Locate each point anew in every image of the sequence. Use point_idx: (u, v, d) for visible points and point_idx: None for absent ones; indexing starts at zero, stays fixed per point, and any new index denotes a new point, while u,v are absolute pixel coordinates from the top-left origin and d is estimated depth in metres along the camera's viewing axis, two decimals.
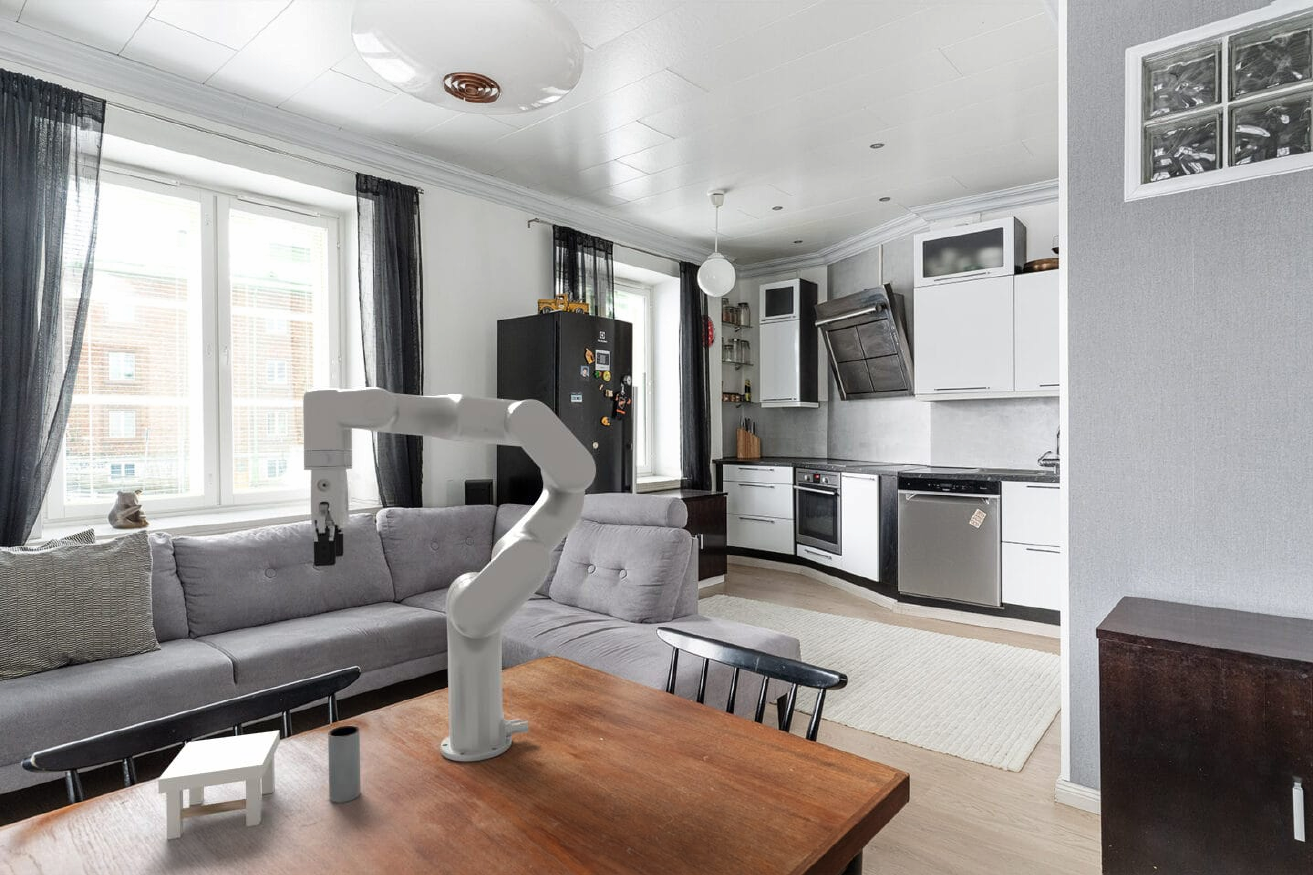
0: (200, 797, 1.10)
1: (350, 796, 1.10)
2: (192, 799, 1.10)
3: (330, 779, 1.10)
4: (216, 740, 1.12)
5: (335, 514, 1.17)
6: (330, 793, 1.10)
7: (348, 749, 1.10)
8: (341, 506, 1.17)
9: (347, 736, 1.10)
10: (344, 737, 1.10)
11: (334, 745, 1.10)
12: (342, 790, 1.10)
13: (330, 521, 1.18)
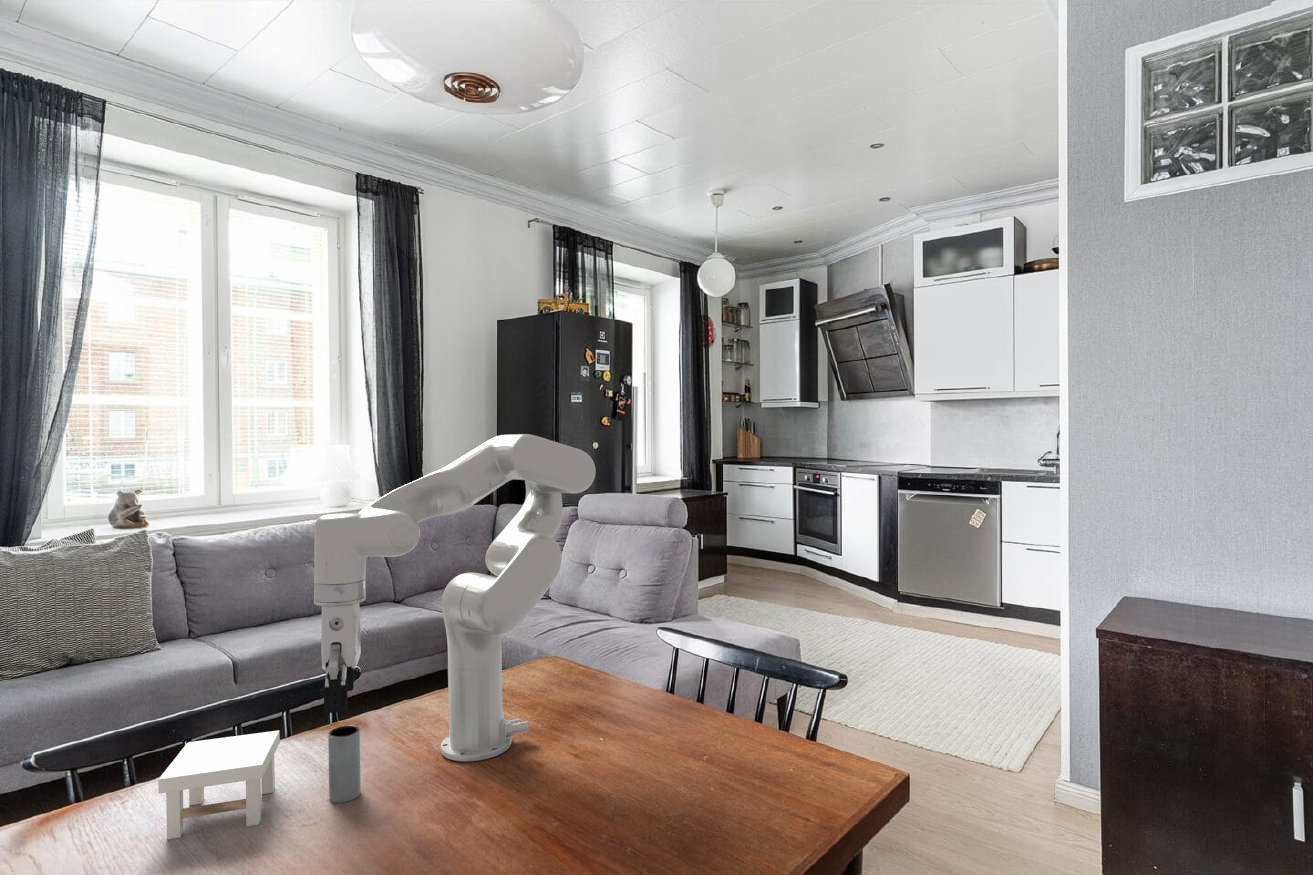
0: (200, 797, 1.10)
1: (350, 796, 1.10)
2: (192, 799, 1.10)
3: (330, 779, 1.10)
4: (216, 740, 1.12)
5: (348, 655, 1.08)
6: (330, 793, 1.10)
7: (348, 749, 1.10)
8: (354, 645, 1.08)
9: (347, 736, 1.10)
10: (344, 737, 1.10)
11: (334, 745, 1.10)
12: (343, 790, 1.10)
13: (342, 661, 1.09)
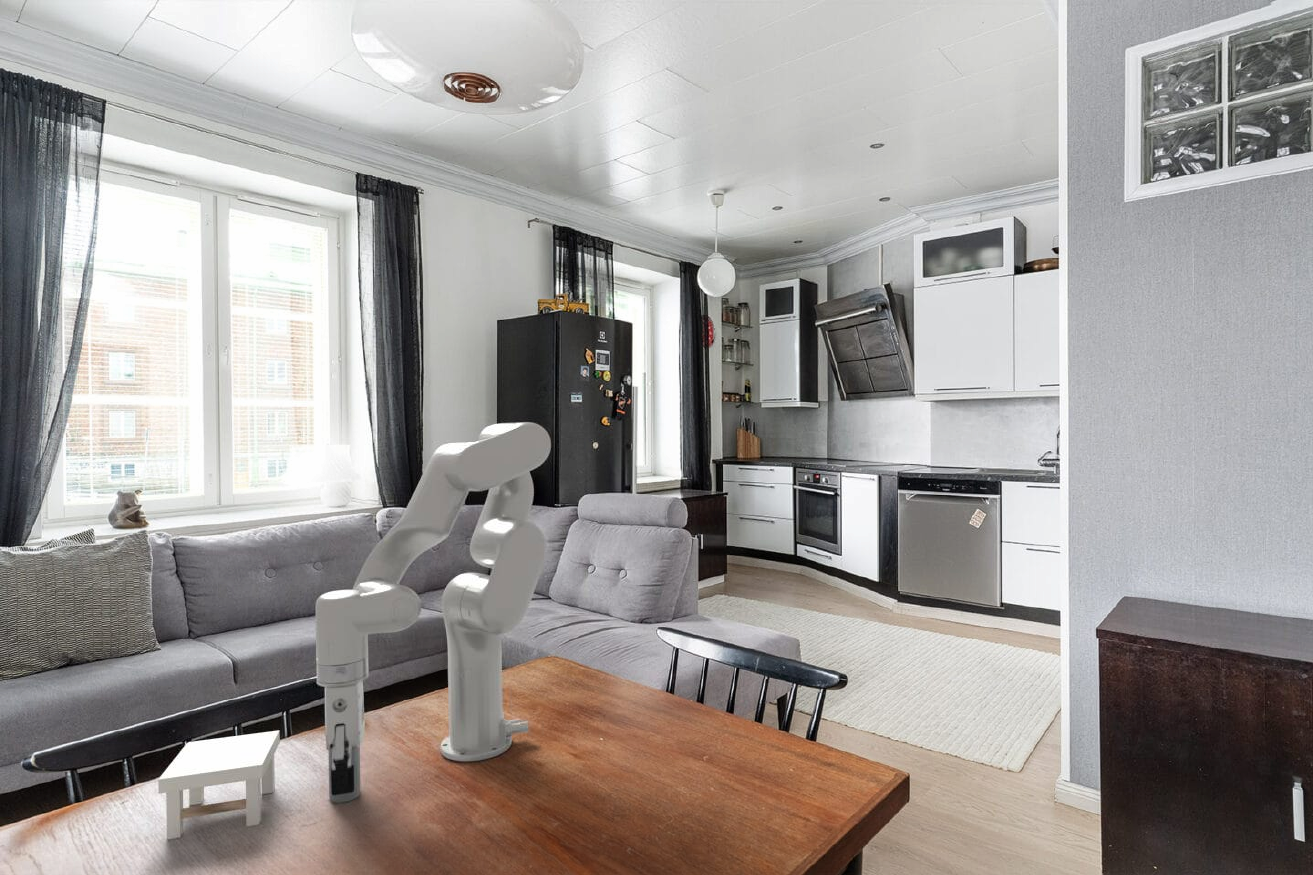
0: (200, 797, 1.10)
1: (350, 796, 1.10)
2: (192, 799, 1.10)
3: (330, 779, 1.10)
4: (216, 740, 1.12)
5: (352, 736, 1.08)
6: (330, 793, 1.10)
7: None
8: (358, 725, 1.09)
9: None
10: None
11: None
12: None
13: None
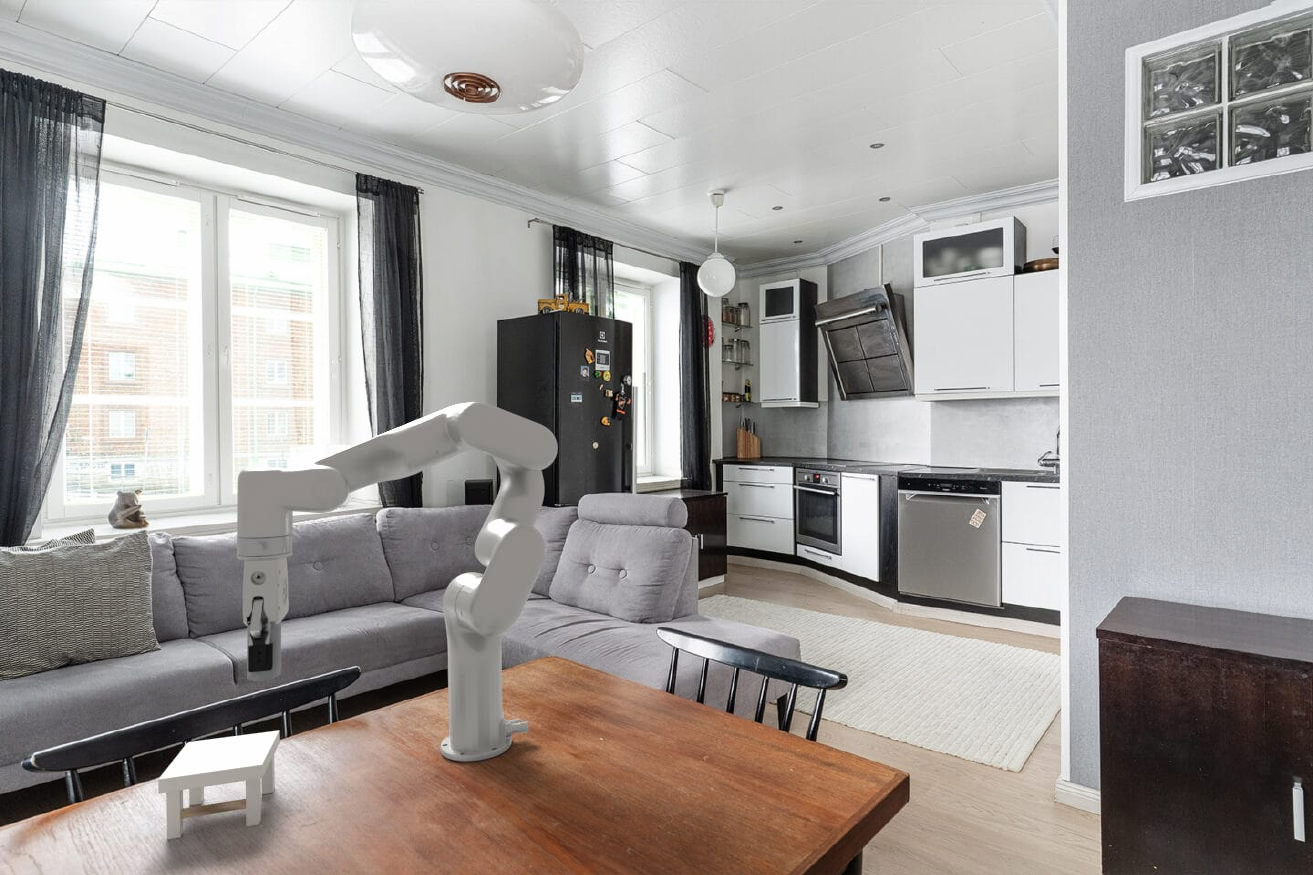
0: (200, 797, 1.10)
1: (268, 675, 1.07)
2: (192, 799, 1.10)
3: None
4: (216, 740, 1.12)
5: (270, 610, 1.05)
6: (248, 672, 1.07)
7: None
8: (277, 600, 1.06)
9: None
10: None
11: None
12: None
13: None
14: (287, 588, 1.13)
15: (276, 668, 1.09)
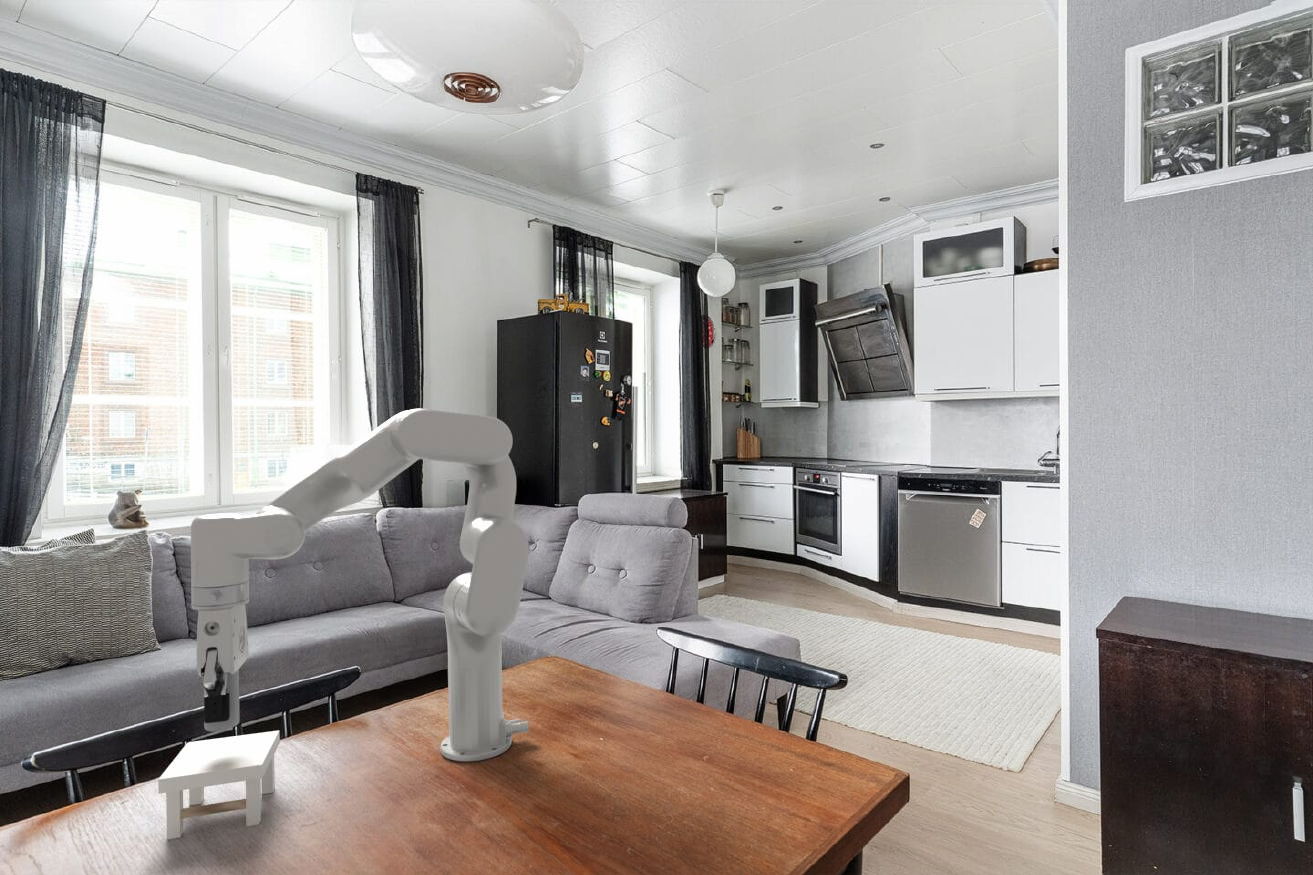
0: (200, 797, 1.10)
1: (225, 725, 1.06)
2: (192, 799, 1.10)
3: None
4: (216, 740, 1.12)
5: (225, 660, 1.04)
6: None
7: None
8: (232, 650, 1.04)
9: None
10: None
11: None
12: None
13: None
14: (245, 635, 1.11)
15: (234, 717, 1.07)
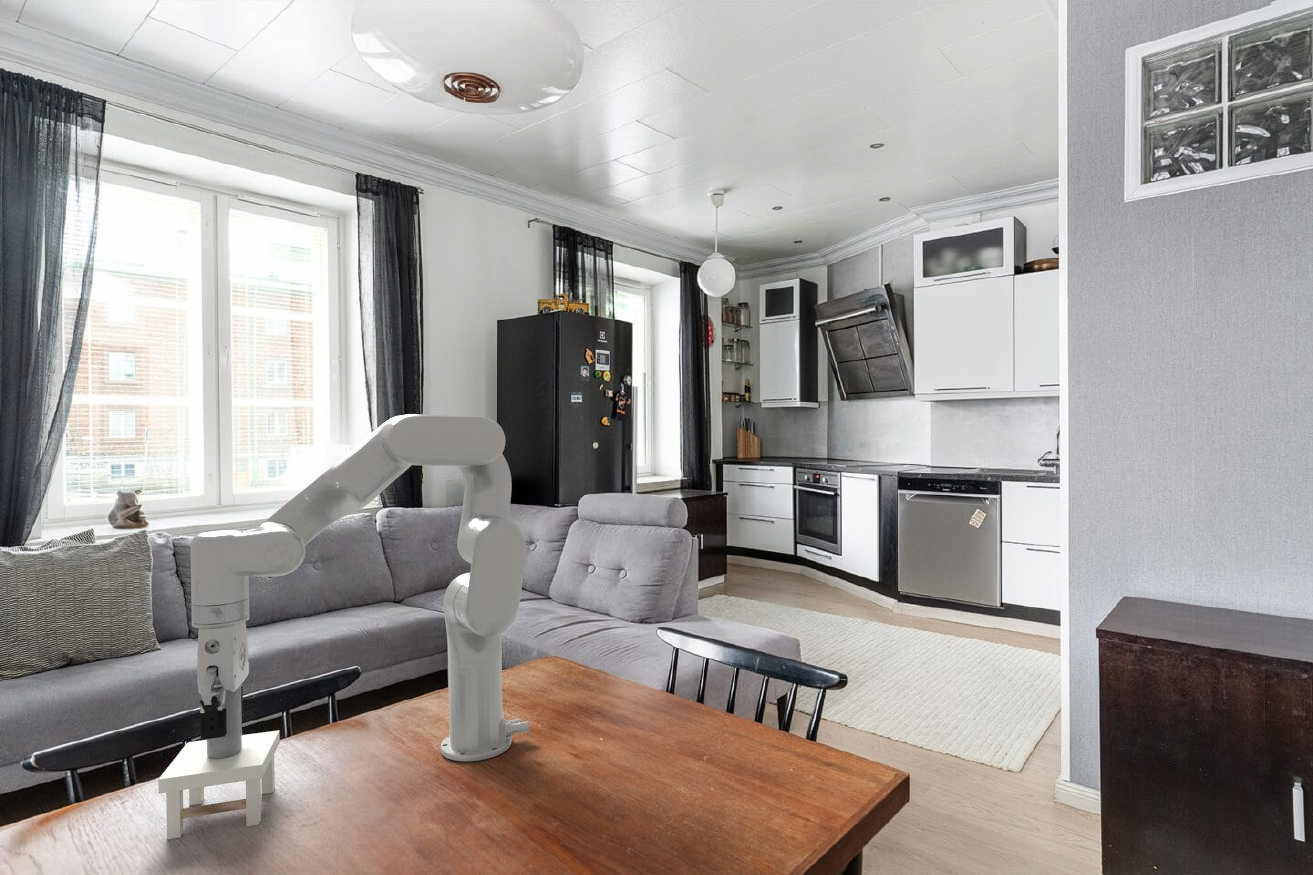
0: (200, 797, 1.10)
1: (228, 752, 1.06)
2: (192, 799, 1.10)
3: None
4: None
5: (225, 679, 1.04)
6: (207, 749, 1.06)
7: (226, 703, 1.06)
8: (233, 668, 1.04)
9: None
10: None
11: None
12: (220, 746, 1.06)
13: (221, 684, 1.05)
14: (246, 651, 1.11)
15: (236, 744, 1.07)
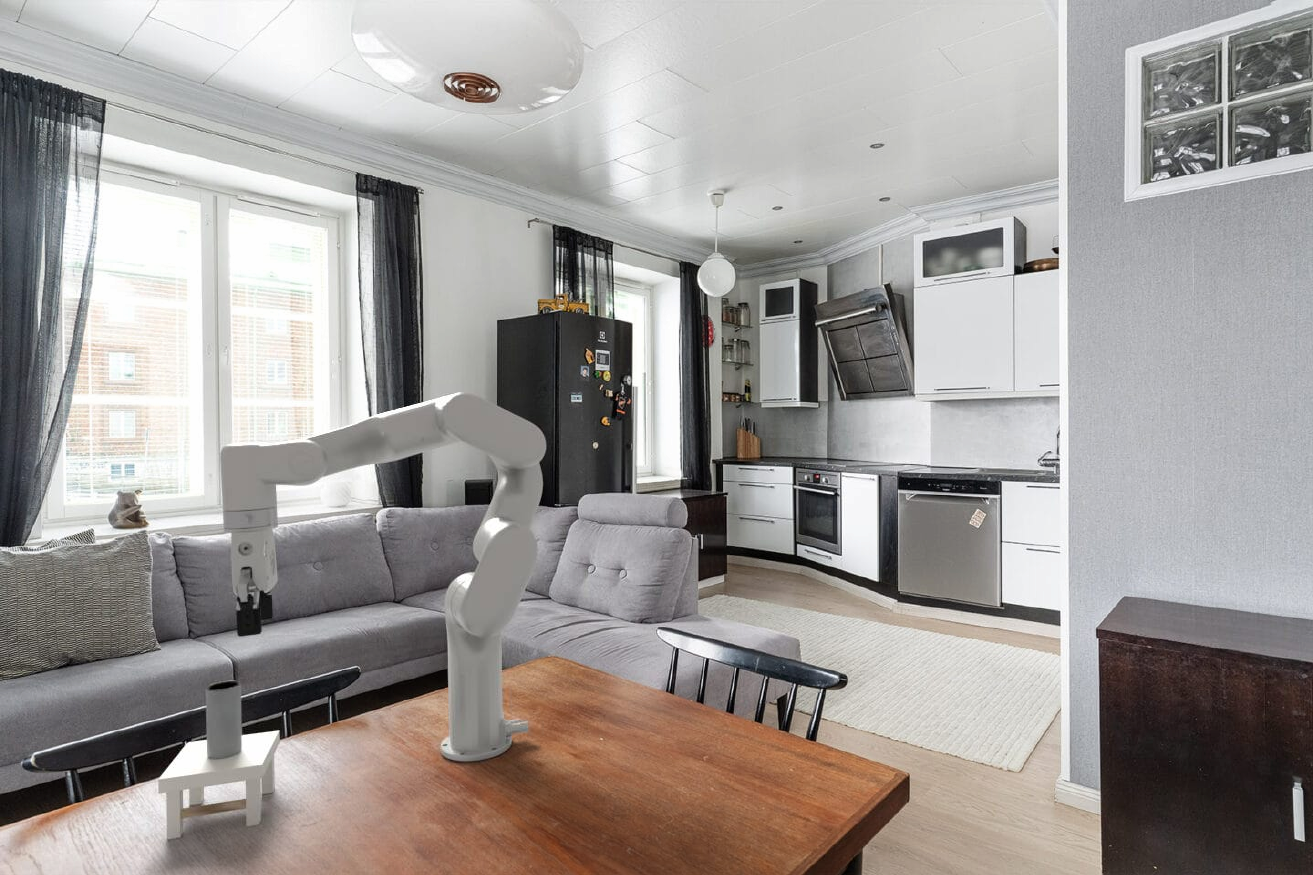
0: (200, 797, 1.10)
1: (228, 752, 1.06)
2: (192, 799, 1.10)
3: (207, 735, 1.06)
4: None
5: (259, 579, 1.09)
6: (207, 749, 1.06)
7: (226, 704, 1.06)
8: (265, 570, 1.09)
9: (225, 690, 1.06)
10: (221, 691, 1.06)
11: (210, 699, 1.06)
12: (219, 746, 1.06)
13: (254, 586, 1.10)
14: (275, 559, 1.16)
15: (236, 744, 1.07)
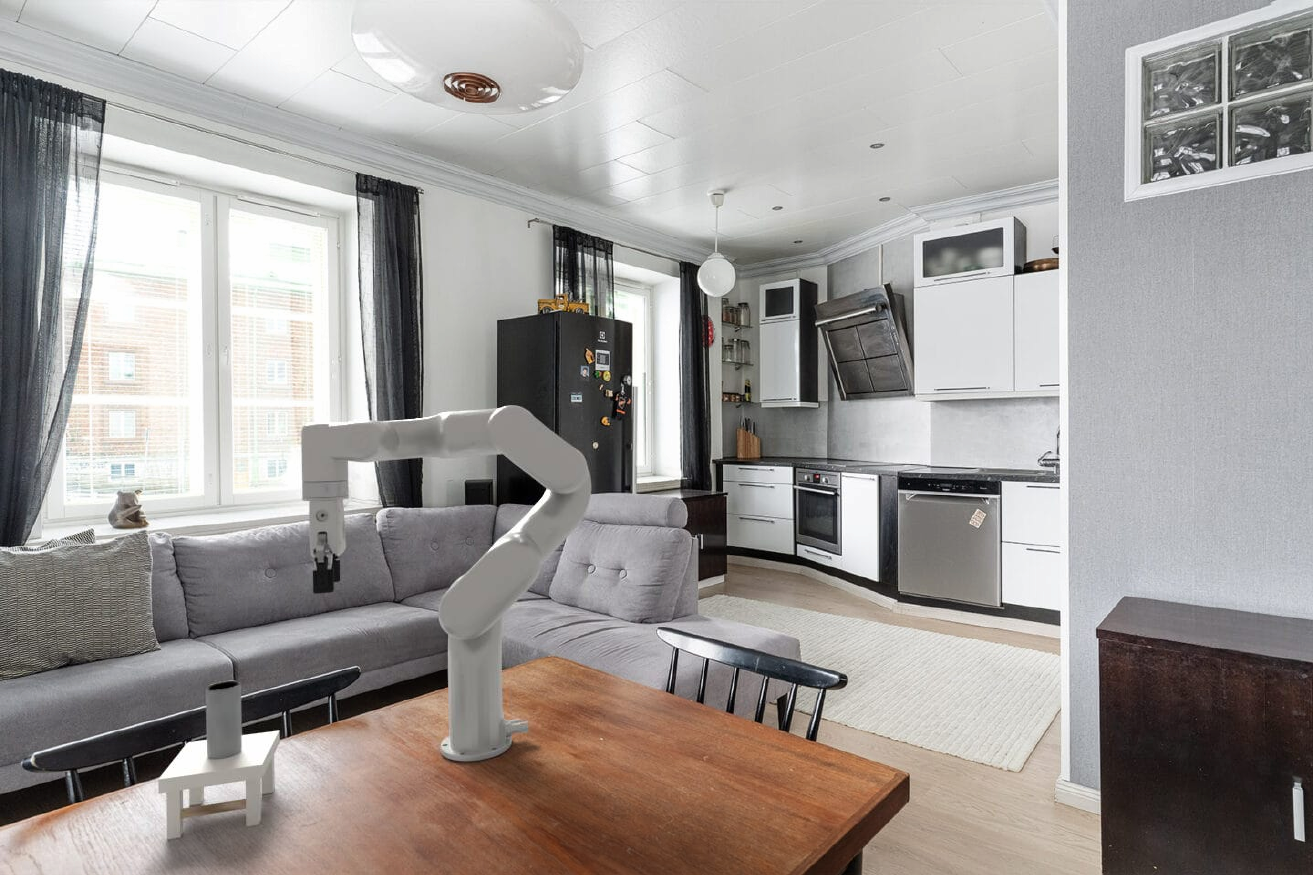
0: (200, 797, 1.10)
1: (228, 752, 1.06)
2: (192, 799, 1.10)
3: (207, 735, 1.06)
4: None
5: (333, 543, 1.22)
6: (207, 749, 1.06)
7: (226, 704, 1.06)
8: (339, 535, 1.23)
9: (225, 690, 1.06)
10: (221, 691, 1.06)
11: (210, 699, 1.06)
12: (219, 746, 1.06)
13: (328, 550, 1.23)
14: None
15: (236, 744, 1.07)
